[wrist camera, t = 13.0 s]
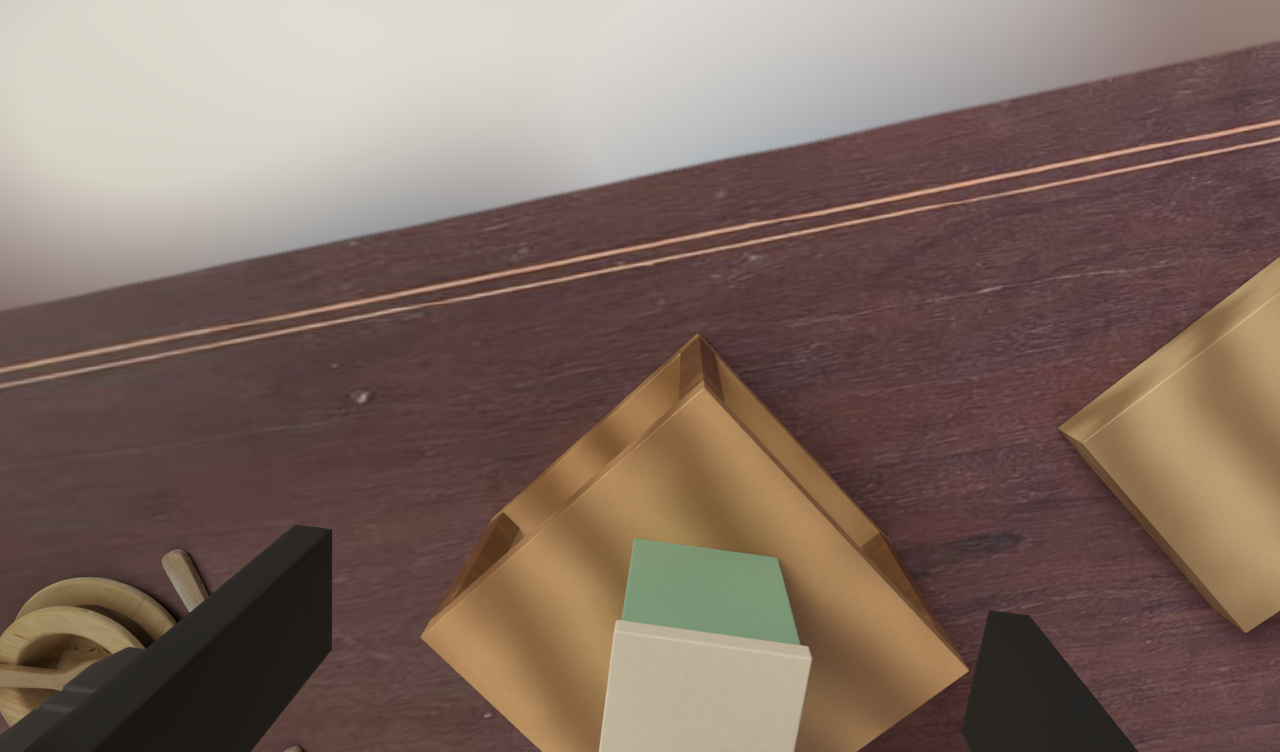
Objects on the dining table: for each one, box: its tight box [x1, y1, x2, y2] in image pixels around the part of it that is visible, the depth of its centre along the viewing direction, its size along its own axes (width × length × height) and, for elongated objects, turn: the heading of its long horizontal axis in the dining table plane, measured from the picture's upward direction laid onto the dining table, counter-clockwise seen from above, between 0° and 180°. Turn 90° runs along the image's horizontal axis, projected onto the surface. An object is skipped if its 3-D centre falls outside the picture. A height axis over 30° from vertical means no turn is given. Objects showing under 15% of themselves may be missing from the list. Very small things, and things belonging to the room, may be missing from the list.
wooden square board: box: [1058, 257, 1280, 633], centre depth 44 cm, size 16×16×3 cm
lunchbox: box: [599, 538, 812, 752], centre depth 31 cm, size 11×7×8 cm, turn 173°
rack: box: [421, 333, 969, 752], centre depth 42 cm, size 18×18×14 cm
